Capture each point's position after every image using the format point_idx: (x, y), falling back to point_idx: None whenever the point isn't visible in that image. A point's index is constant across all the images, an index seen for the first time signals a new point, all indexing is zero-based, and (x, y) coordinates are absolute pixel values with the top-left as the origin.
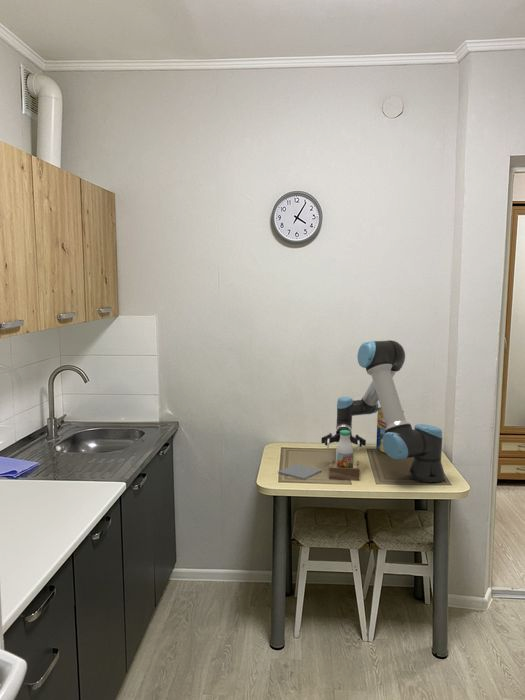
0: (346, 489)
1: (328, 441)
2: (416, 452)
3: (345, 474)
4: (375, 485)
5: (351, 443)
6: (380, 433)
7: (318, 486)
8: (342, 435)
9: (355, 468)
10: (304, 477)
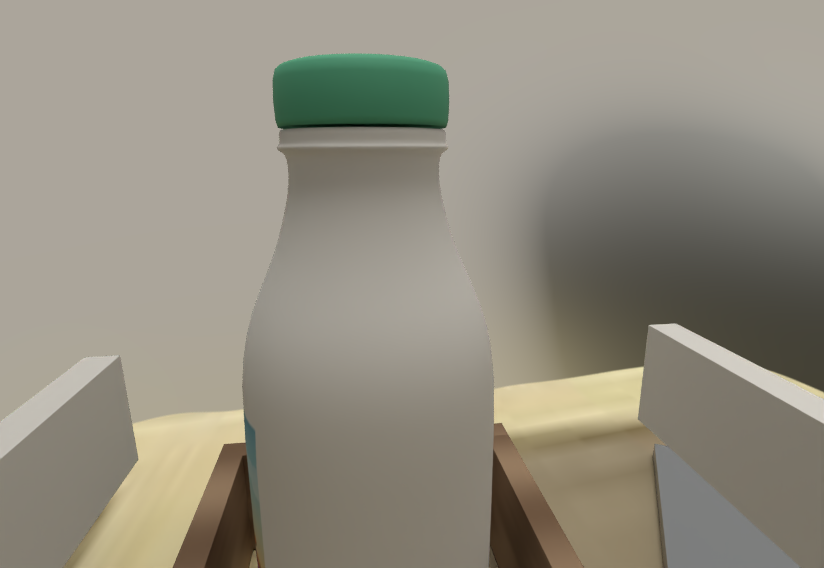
0: None
1: (715, 355)
2: None
3: None
4: (131, 480)
5: (264, 279)
6: None
7: (510, 406)
8: (412, 165)
9: None
10: (662, 452)
